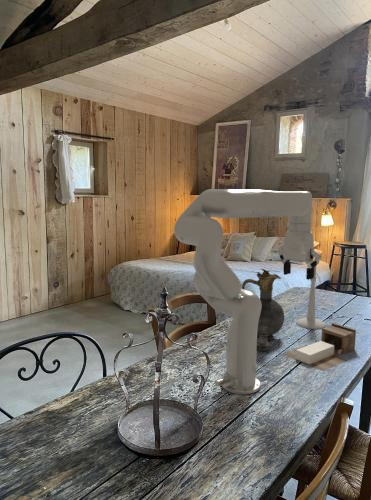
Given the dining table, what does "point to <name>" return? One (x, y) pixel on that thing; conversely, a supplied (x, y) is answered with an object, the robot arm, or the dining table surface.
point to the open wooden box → (335, 336)
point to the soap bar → (314, 352)
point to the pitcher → (268, 304)
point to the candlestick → (311, 310)
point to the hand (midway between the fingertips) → (298, 276)
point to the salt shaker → (263, 339)
